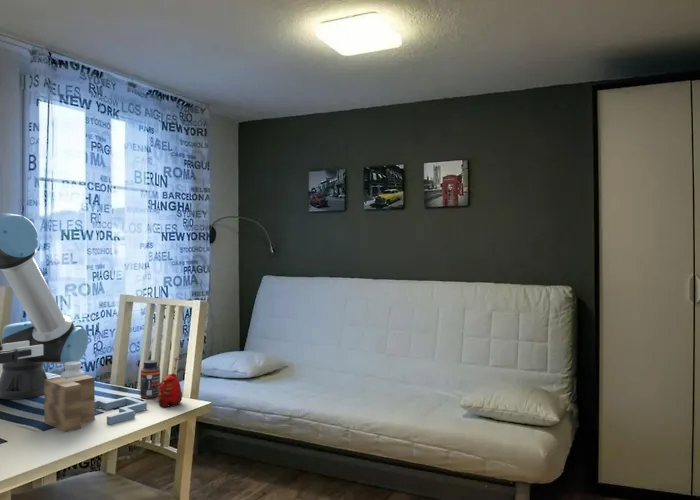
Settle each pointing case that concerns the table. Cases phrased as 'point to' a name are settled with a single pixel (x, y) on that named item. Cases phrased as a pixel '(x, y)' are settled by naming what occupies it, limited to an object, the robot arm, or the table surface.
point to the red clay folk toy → (170, 390)
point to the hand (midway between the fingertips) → (35, 347)
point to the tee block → (69, 402)
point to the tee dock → (125, 411)
